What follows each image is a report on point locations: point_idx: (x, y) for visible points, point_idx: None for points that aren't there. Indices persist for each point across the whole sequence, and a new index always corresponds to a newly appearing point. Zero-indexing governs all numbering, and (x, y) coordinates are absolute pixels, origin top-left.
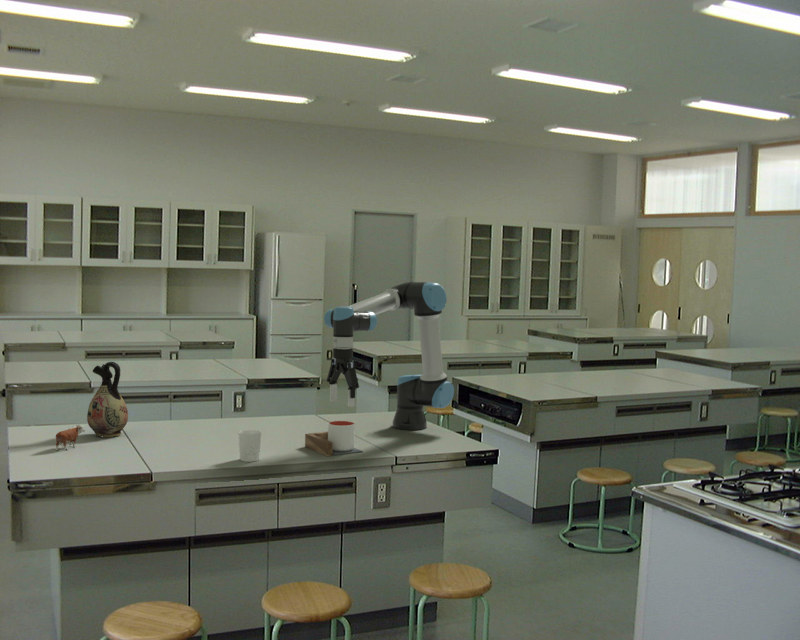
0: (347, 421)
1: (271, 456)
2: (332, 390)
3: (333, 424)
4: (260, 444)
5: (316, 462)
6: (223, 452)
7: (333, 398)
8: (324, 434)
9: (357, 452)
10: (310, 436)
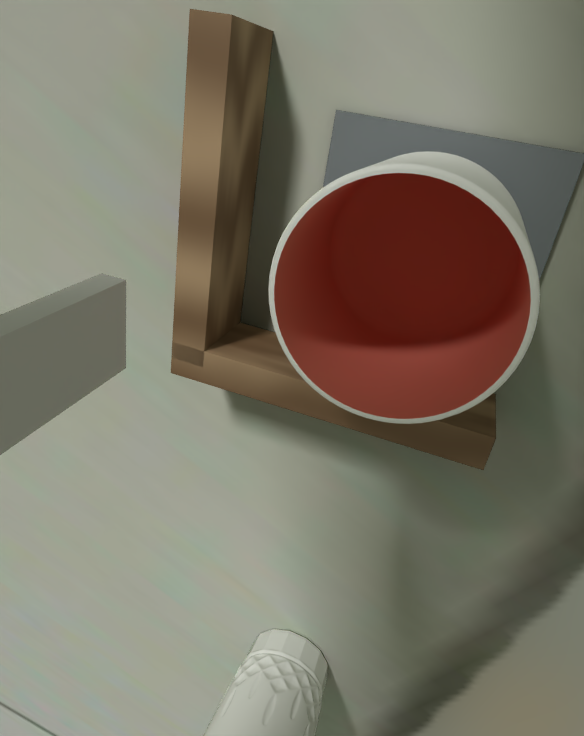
0: (349, 181)
1: (293, 579)
2: (12, 420)
3: (283, 290)
4: (293, 701)
5: (549, 556)
6: (136, 621)
7: (100, 346)
8: (216, 257)
9: (567, 203)
10: (240, 392)
